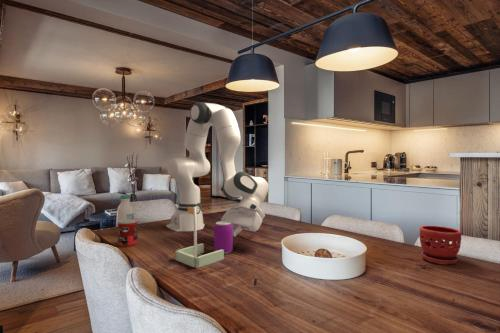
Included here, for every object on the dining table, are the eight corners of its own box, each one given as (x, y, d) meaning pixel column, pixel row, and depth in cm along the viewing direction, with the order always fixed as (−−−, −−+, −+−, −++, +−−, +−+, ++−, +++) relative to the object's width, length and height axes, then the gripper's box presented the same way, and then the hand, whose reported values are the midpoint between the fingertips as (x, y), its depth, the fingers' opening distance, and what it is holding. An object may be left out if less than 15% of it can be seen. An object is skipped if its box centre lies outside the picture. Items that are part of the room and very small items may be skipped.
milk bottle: (121, 237, 151) (120, 196, 150) (115, 234, 157) (114, 195, 156) (136, 234, 156) (135, 195, 155) (131, 231, 162) (130, 194, 161)
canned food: (115, 245, 137) (114, 220, 137) (132, 241, 143) (132, 218, 143) (123, 248, 132) (122, 223, 132) (140, 244, 138) (140, 220, 137)
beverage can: (232, 254, 123) (232, 224, 122) (213, 254, 122) (213, 225, 122) (233, 248, 130) (232, 220, 130) (215, 248, 130) (214, 220, 130)
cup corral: (175, 259, 117) (174, 203, 116) (202, 251, 126) (201, 200, 126) (196, 268, 108) (195, 207, 107) (223, 259, 117) (223, 203, 116)
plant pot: (466, 268, 105) (466, 234, 105) (422, 264, 110) (423, 231, 109) (455, 256, 117) (455, 225, 117) (416, 253, 122) (417, 223, 121)
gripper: (227, 202, 141) (211, 227, 134) (261, 207, 127) (245, 235, 120) (234, 210, 145) (219, 235, 138) (268, 216, 131) (253, 243, 124)
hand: (231, 235), depth 129 cm, fingers closed, pressing on beverage can
